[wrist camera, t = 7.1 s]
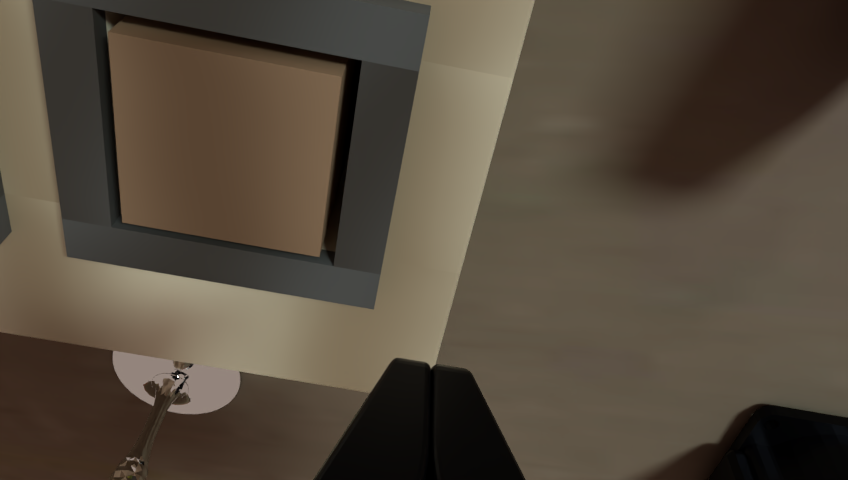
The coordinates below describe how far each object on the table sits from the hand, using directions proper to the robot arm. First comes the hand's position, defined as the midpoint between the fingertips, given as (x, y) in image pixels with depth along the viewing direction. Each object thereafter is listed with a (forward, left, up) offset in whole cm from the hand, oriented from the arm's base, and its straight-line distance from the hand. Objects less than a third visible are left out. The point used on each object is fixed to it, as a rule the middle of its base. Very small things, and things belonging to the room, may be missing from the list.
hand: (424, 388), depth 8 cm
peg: (+4, +1, -12) cm, 13 cm away
